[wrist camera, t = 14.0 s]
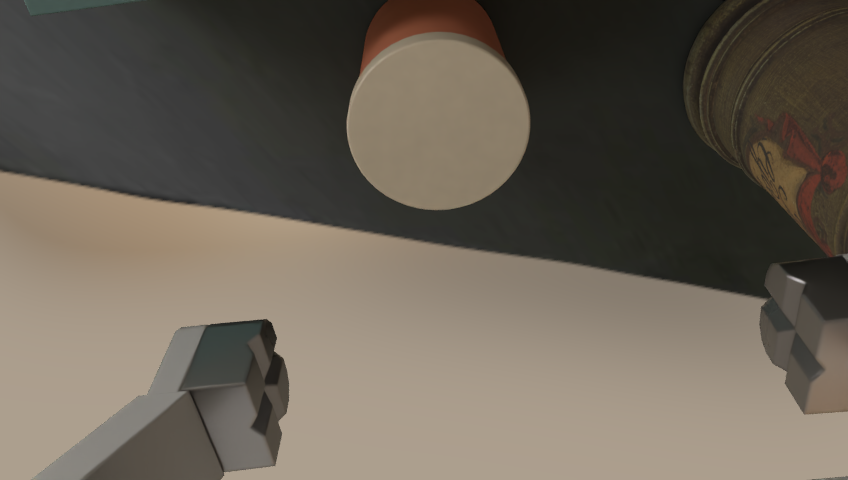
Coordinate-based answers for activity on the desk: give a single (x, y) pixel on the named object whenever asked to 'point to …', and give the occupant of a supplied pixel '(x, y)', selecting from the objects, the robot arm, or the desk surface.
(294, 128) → the desk surface
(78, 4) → the lidded square case
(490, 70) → the canister
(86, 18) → the desk surface
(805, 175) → the container
